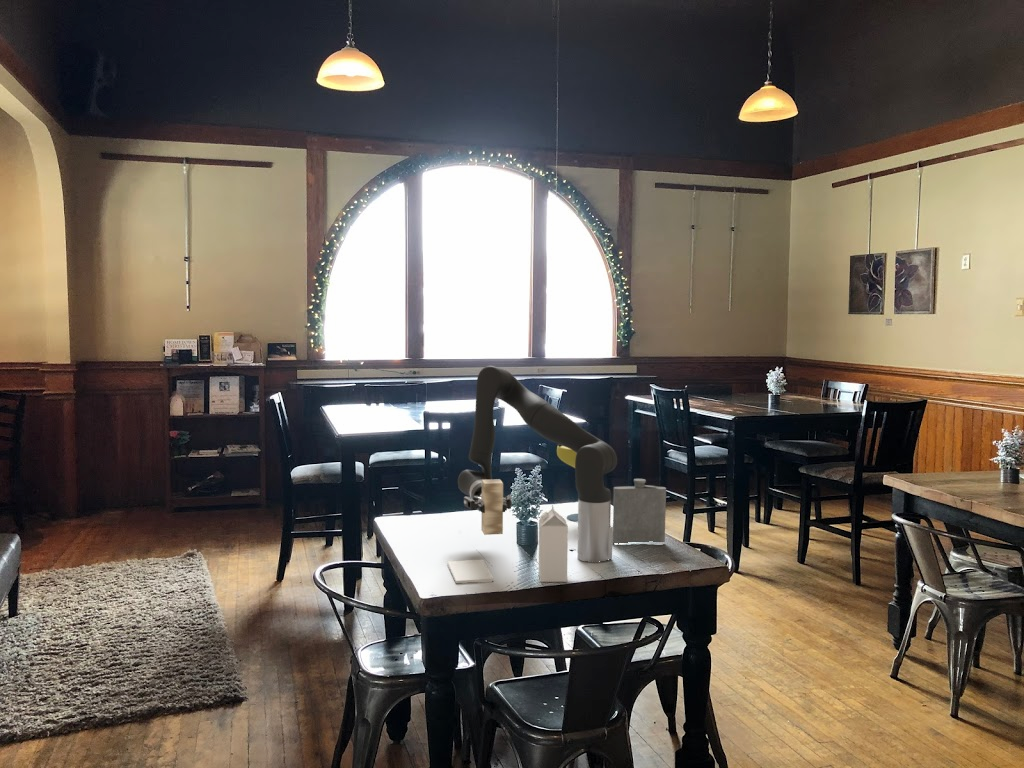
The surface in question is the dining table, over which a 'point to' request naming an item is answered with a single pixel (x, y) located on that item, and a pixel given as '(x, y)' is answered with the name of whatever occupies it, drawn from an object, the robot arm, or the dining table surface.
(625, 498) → the hip flask
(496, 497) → the birch block
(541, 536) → the milk carton
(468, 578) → the white board
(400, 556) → the dining table surface
